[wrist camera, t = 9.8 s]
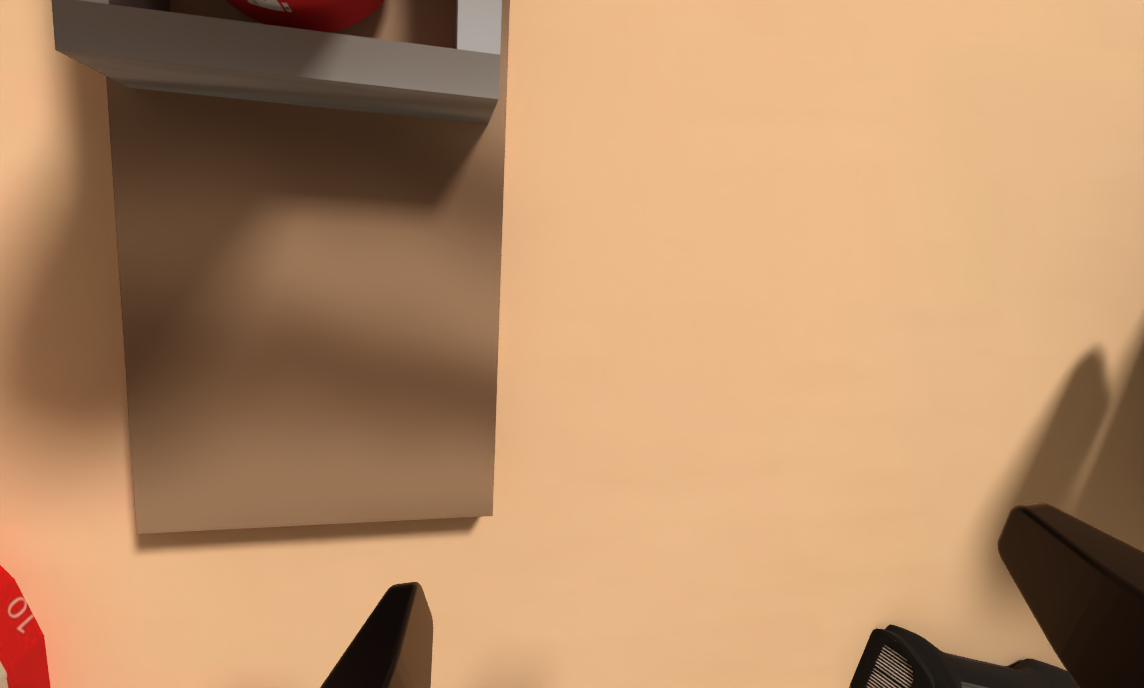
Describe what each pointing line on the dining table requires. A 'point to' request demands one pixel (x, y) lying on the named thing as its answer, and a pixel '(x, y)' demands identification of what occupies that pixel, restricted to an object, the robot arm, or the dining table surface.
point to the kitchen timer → (20, 640)
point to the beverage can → (308, 12)
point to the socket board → (305, 257)
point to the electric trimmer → (943, 667)
